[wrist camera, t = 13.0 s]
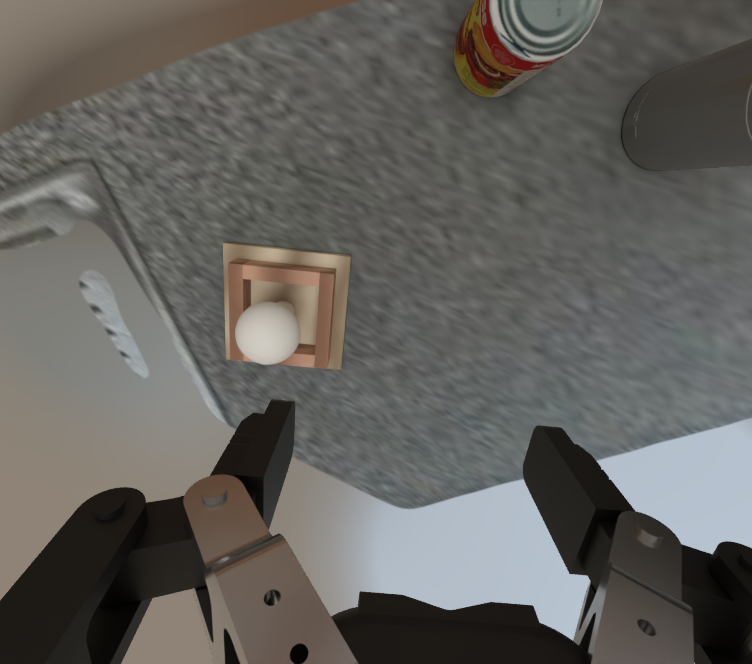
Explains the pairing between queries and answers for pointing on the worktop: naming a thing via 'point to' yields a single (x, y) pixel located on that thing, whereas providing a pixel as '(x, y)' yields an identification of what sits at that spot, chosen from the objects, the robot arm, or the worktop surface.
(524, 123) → the worktop surface
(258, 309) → the lightbulb
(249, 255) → the socket stand
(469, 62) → the canned food
